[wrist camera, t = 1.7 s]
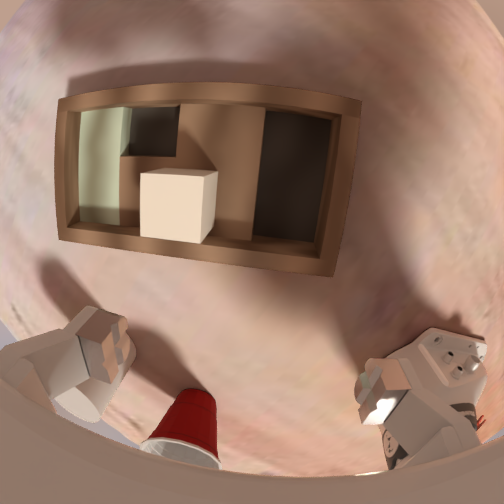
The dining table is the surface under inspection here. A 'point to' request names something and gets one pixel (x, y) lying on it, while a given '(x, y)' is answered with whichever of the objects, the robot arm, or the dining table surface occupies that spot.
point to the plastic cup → (187, 431)
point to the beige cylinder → (94, 393)
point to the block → (177, 204)
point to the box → (212, 169)
